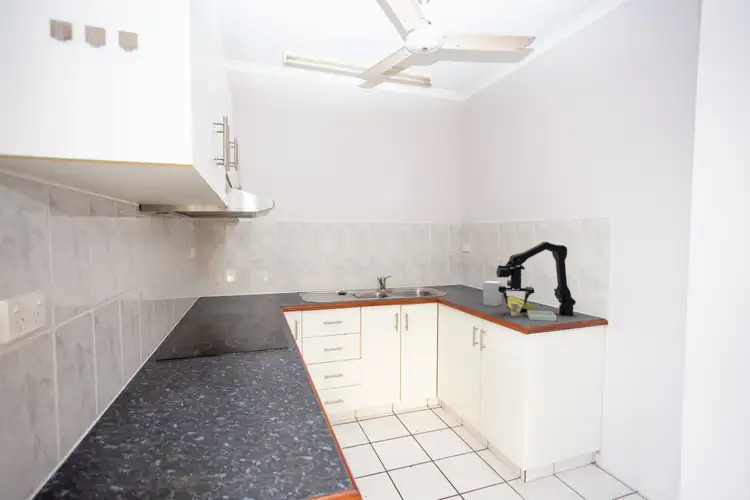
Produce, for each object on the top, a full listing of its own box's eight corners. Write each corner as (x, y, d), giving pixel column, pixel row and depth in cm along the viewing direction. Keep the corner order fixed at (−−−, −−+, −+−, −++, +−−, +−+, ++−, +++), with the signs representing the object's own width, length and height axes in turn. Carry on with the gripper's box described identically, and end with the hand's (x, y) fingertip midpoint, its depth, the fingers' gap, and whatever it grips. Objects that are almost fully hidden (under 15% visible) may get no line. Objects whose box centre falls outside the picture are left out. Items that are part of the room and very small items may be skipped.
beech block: (519, 314, 211) (519, 304, 211) (519, 316, 207) (520, 305, 207) (510, 314, 213) (511, 303, 212) (511, 315, 208) (511, 305, 208)
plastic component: (537, 308, 217) (523, 301, 216) (531, 319, 217) (517, 312, 216) (521, 299, 236) (507, 293, 235) (515, 310, 237) (502, 303, 236)
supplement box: (501, 304, 241) (501, 281, 241) (496, 306, 235) (496, 283, 234) (488, 302, 247) (488, 280, 247) (482, 304, 240) (482, 281, 240)
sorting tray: (552, 315, 207) (552, 311, 207) (556, 321, 195) (556, 316, 194) (527, 314, 211) (527, 310, 211) (529, 319, 198) (529, 315, 198)
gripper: (531, 276, 214) (531, 302, 215) (498, 275, 219) (497, 301, 220) (534, 278, 203) (534, 306, 204) (498, 277, 208) (498, 304, 209)
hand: (515, 304), depth 209 cm, fingers open, 9 cm apart
